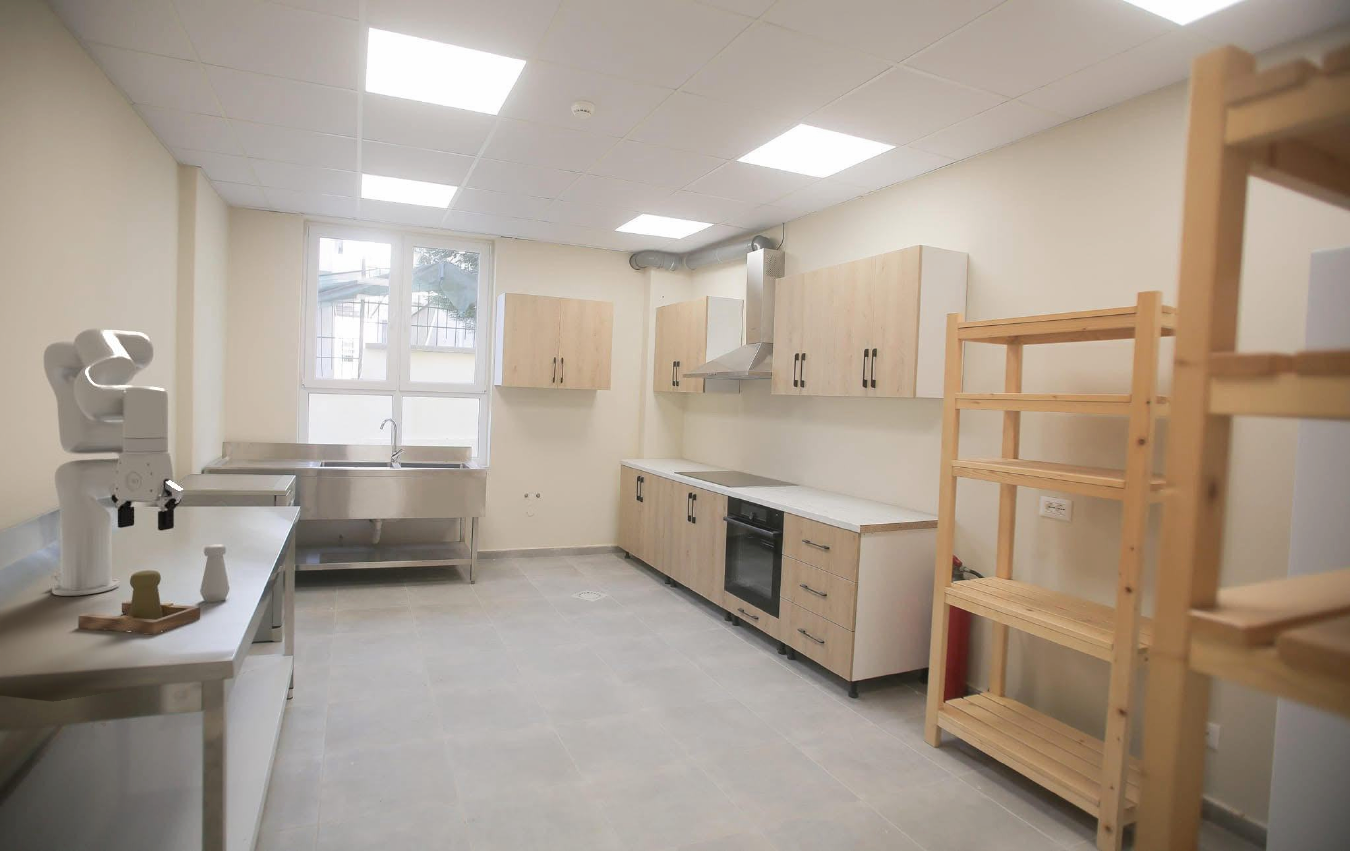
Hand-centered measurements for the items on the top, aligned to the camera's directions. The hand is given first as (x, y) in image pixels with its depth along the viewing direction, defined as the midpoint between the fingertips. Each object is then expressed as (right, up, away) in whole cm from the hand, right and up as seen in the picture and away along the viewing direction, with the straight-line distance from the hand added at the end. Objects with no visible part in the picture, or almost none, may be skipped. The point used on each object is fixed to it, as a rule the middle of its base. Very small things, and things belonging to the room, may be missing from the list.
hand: (145, 527), depth 149 cm
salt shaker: (+3, -20, +18) cm, 27 cm away
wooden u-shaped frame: (-2, -20, +1) cm, 20 cm away
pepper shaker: (-1, -20, +1) cm, 20 cm away
